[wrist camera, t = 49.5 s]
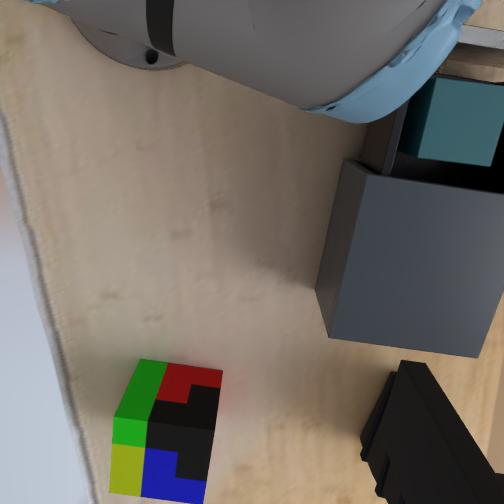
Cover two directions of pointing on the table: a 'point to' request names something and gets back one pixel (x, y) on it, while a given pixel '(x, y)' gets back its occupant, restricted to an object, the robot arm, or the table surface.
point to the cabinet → (411, 263)
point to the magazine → (380, 450)
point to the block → (453, 121)
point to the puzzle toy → (165, 432)
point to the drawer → (441, 172)
